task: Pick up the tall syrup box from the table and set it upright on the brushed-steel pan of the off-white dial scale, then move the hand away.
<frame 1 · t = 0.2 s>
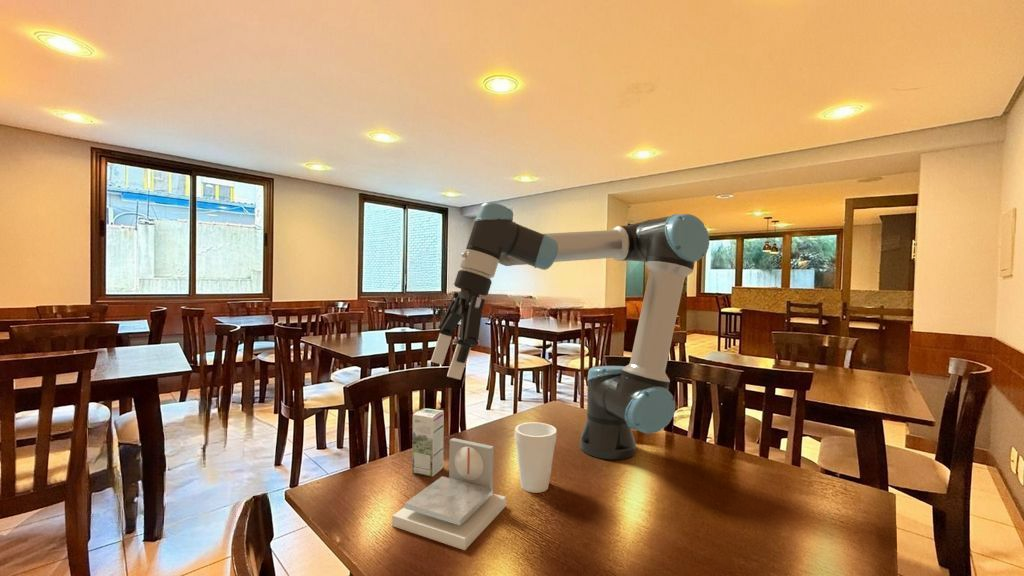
hand: (444, 370, 90), 28 cm above the table, tool tilted 20°, fingers open, 13 cm apart
syrup box: (427, 471, 105), on the table
foam cup: (534, 486, 98), on the table
scale pan: (450, 498, 84), point 4 cm above the table, slide at -0.3 cm
scale base: (451, 515, 85), on the table
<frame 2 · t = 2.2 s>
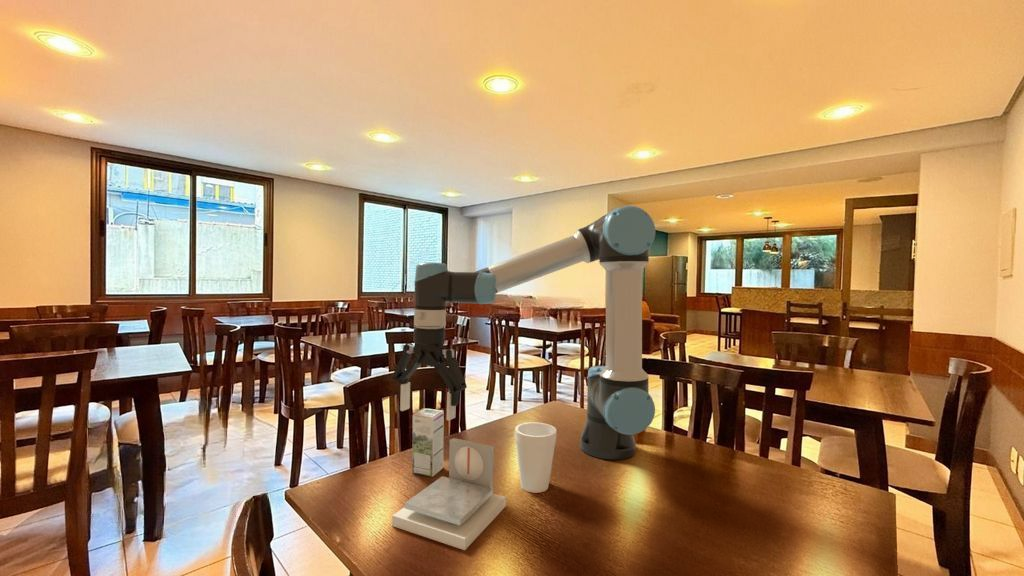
hand: (427, 414, 104), 14 cm above the table, tool pointing down, fingers open, 13 cm apart
nothing on the table moved.
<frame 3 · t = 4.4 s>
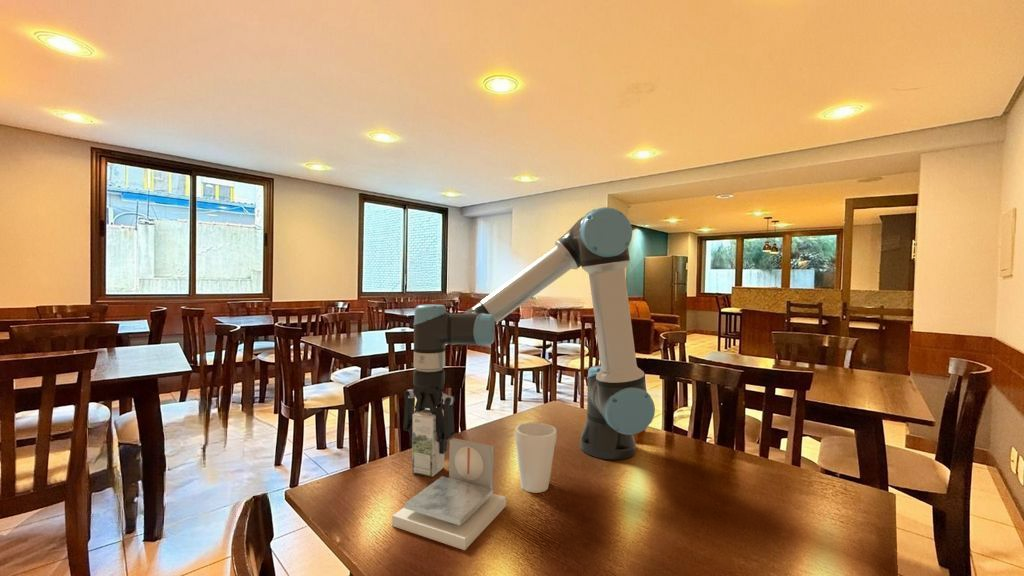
hand: (427, 462, 104), 2 cm above the table, tool pointing down, fingers closed on syrup box, 6 cm apart
syrup box: (427, 471, 104), on the table, touching gripper
everything else where it was.
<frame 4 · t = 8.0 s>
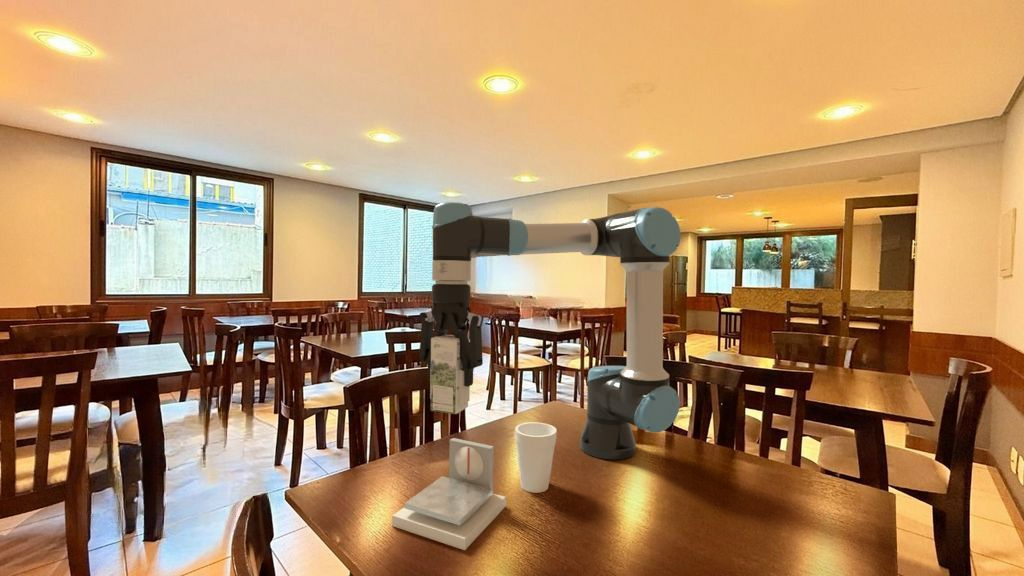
hand: (449, 399, 85), 23 cm above the table, tool pointing down, fingers closed on syrup box, 6 cm apart
syrup box: (449, 410, 85), point 21 cm above the table, touching gripper
everything else where it was.
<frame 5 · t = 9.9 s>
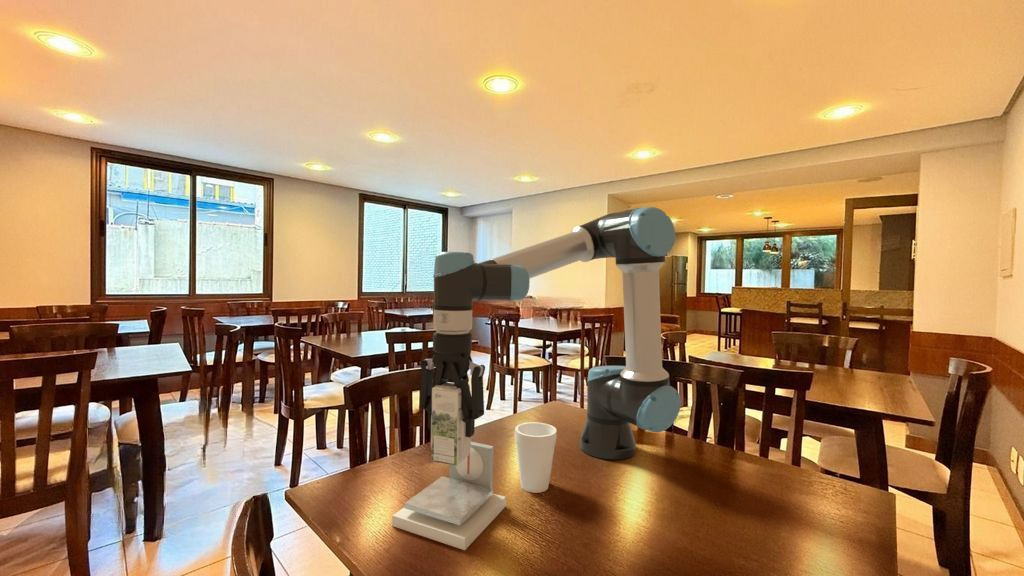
hand: (450, 448, 84), 14 cm above the table, tool pointing down, fingers closed on syrup box, 6 cm apart
syrup box: (450, 459, 84), point 11 cm above the table, touching gripper
everything else where it was.
when the fingers open (8 cm above the table, at t = 11.7 s): syrup box drops 3 cm, resting on scale pan.
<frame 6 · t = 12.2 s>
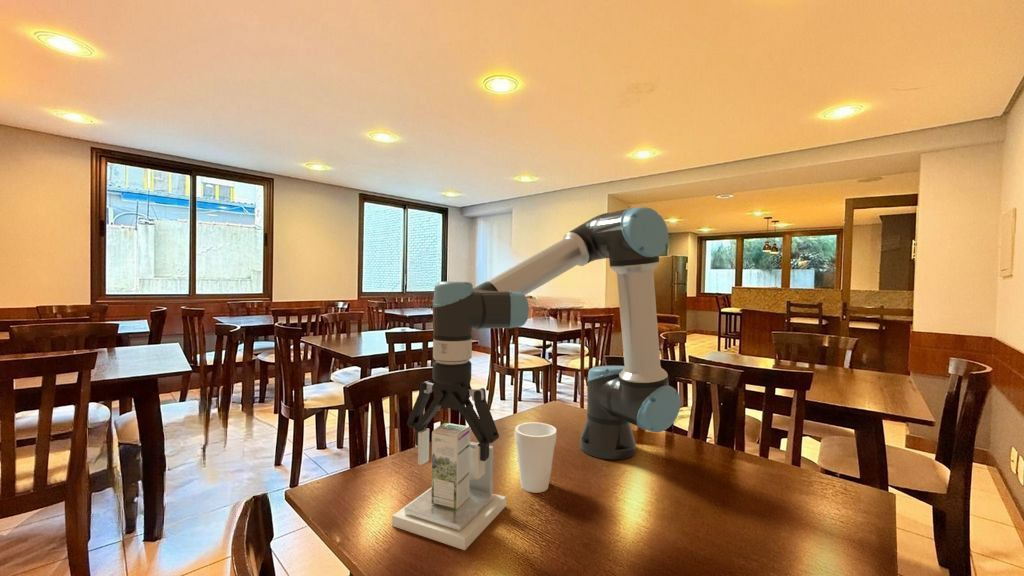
hand: (450, 469, 84), 10 cm above the table, tool pointing down, fingers open, 12 cm apart
syrup box: (450, 501, 84), point 3 cm above the table, touching scale pan
scale pan: (450, 503, 85), point 3 cm above the table, slide at -1.3 cm, touching syrup box
everything else where it was.
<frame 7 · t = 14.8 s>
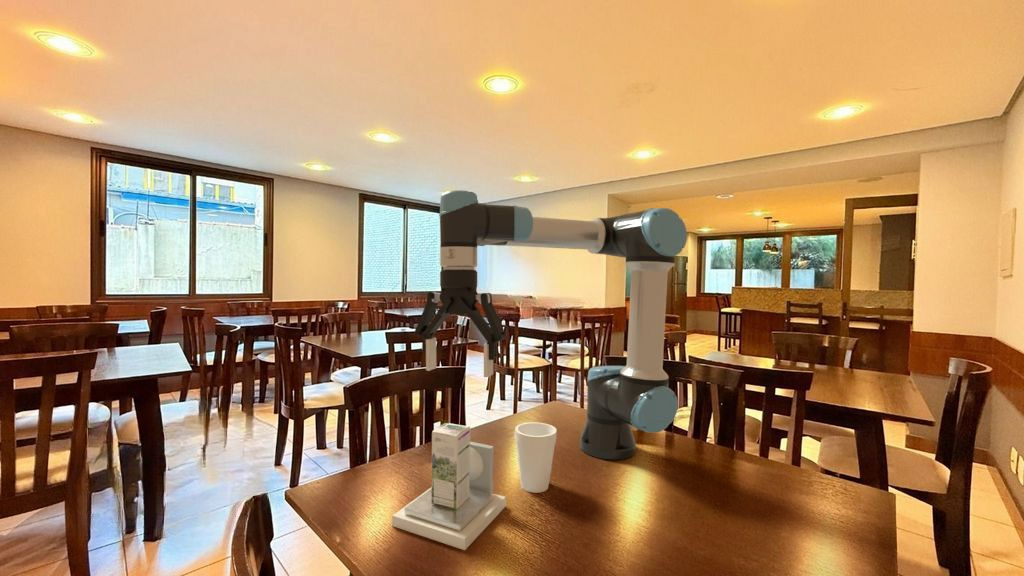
hand: (459, 372, 88), 28 cm above the table, tool pointing down, fingers open, 13 cm apart
nothing on the table moved.
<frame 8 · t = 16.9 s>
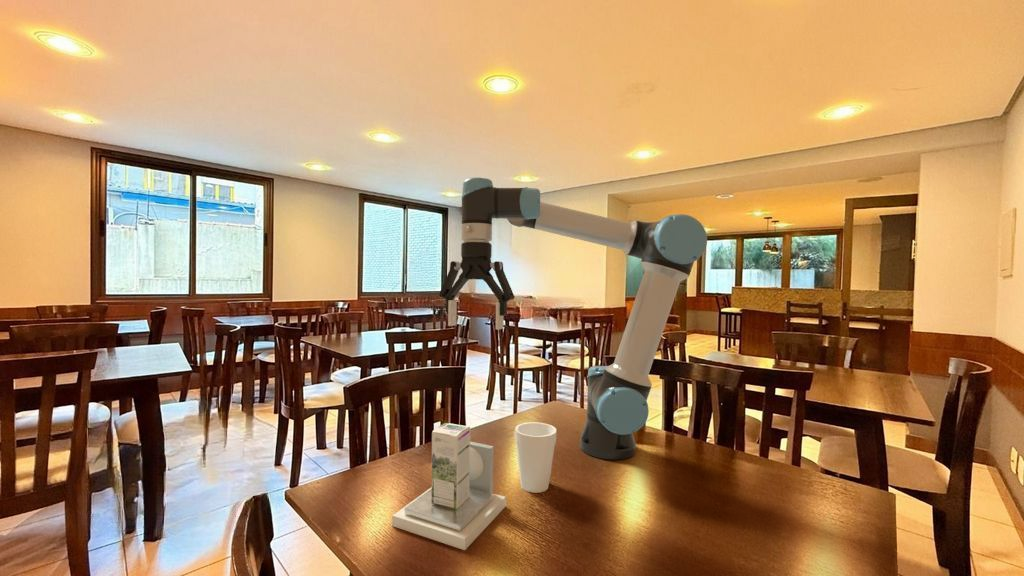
hand: (475, 327, 107), 35 cm above the table, tool pointing down, fingers open, 13 cm apart
nothing on the table moved.
at the end: syrup box inside the target area on the scale base (0.1 cm from its centre), point 3.0 cm above the scale base's base; syrup box tilted 0°; the gripper is holding nothing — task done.
